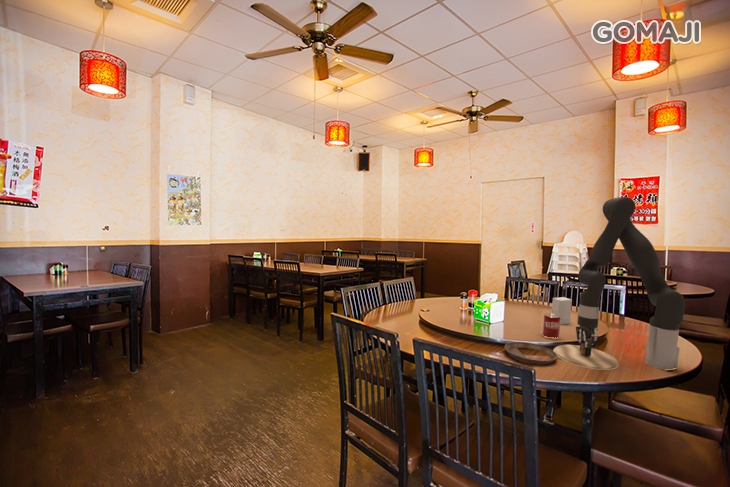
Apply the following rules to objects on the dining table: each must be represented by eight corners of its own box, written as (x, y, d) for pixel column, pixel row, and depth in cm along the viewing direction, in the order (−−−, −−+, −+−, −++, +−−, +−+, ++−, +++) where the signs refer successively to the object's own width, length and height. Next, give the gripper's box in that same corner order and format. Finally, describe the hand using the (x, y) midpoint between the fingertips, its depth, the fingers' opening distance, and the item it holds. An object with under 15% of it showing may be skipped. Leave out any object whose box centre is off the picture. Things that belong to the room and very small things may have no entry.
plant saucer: (511, 344, 162) (512, 337, 161) (560, 356, 149) (561, 349, 148) (498, 358, 146) (498, 350, 145) (551, 373, 133) (551, 365, 132)
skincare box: (562, 321, 198) (564, 296, 197) (570, 324, 193) (572, 299, 191) (550, 321, 197) (552, 297, 195) (558, 325, 191) (560, 299, 189)
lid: (596, 347, 157) (597, 335, 157) (630, 370, 135) (632, 356, 134) (545, 345, 159) (546, 333, 159) (571, 367, 136) (572, 353, 136)
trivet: (596, 348, 158) (596, 347, 158) (632, 372, 134) (632, 371, 134) (543, 345, 160) (543, 344, 160) (569, 369, 136) (570, 367, 136)
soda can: (561, 341, 166) (562, 318, 165) (545, 340, 167) (546, 316, 166) (555, 336, 173) (557, 313, 172) (540, 335, 174) (542, 312, 173)
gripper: (607, 320, 138) (604, 361, 139) (587, 310, 152) (584, 347, 153) (588, 320, 138) (585, 360, 140) (570, 310, 153) (567, 346, 154)
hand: (584, 353), depth 147 cm, fingers closed on lid, 3 cm apart
